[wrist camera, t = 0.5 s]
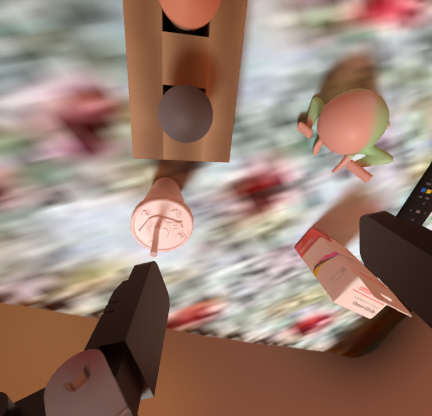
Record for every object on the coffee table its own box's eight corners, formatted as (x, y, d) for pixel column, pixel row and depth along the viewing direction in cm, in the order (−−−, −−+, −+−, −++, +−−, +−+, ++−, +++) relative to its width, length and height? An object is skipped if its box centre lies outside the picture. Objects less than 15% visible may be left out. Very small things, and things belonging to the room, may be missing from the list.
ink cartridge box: (292, 248, 41) (345, 323, 28) (311, 225, 40) (377, 294, 27) (325, 265, 45) (387, 340, 32) (344, 245, 43) (418, 315, 30)
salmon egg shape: (161, 38, 23) (155, 22, 17) (160, -24, 21) (154, -69, 15) (208, 44, 23) (219, 30, 17) (211, -15, 21) (226, -55, 15)
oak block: (140, 145, 30) (133, 158, 25) (122, -199, 19) (102, -311, 13) (220, 149, 32) (229, 162, 27) (249, -164, 20) (275, -251, 15)
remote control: (458, 158, 39) (468, 161, 38) (378, 273, 49) (383, 278, 47) (434, 151, 37) (443, 153, 36) (356, 270, 47) (361, 275, 46)
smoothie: (136, 170, 31) (111, 227, 19) (185, 164, 32) (192, 216, 20) (147, 213, 34) (131, 286, 22) (192, 207, 35) (201, 275, 23)
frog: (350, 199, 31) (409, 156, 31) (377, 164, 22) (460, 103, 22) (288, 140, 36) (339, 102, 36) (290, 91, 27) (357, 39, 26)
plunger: (162, 127, 26) (158, 141, 20) (161, 81, 24) (157, 81, 18) (202, 130, 27) (210, 144, 21) (205, 86, 25) (215, 87, 19)
